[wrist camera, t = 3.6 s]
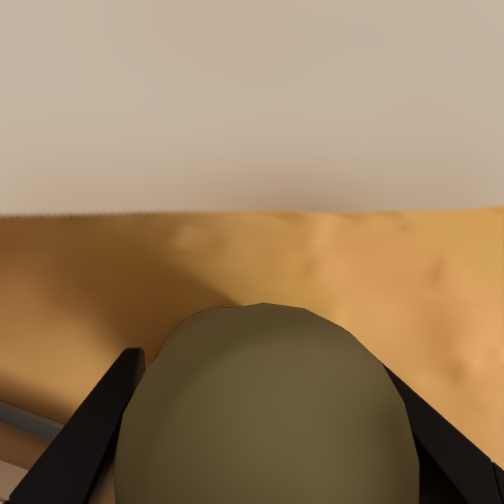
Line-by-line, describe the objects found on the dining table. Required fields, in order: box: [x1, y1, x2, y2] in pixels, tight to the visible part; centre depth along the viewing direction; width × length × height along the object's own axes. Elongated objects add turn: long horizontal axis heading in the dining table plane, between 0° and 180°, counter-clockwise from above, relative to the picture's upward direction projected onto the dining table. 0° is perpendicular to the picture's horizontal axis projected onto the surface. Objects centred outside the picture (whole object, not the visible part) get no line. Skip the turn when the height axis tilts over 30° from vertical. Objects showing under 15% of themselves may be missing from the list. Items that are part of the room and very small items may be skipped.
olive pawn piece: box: [112, 303, 419, 504], centre depth 10 cm, size 6×6×11 cm
